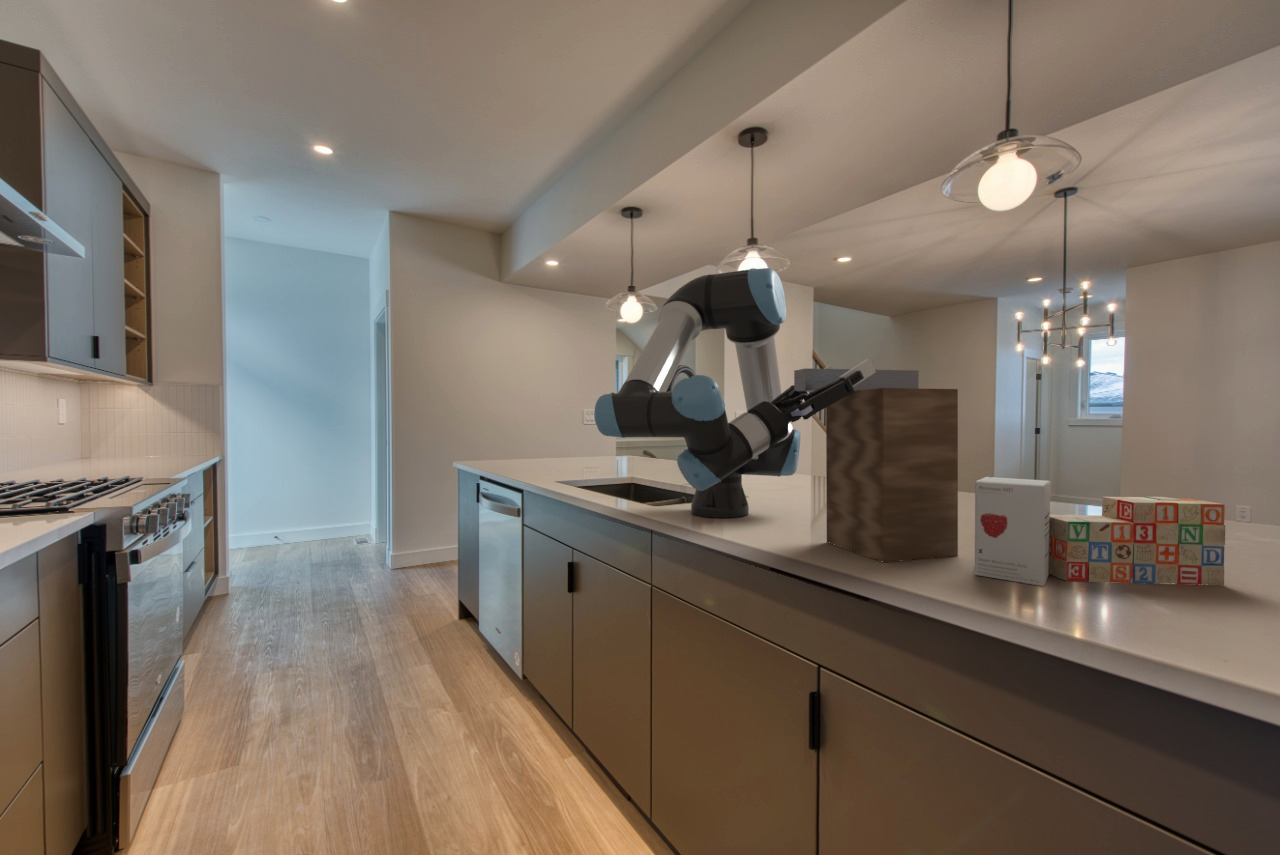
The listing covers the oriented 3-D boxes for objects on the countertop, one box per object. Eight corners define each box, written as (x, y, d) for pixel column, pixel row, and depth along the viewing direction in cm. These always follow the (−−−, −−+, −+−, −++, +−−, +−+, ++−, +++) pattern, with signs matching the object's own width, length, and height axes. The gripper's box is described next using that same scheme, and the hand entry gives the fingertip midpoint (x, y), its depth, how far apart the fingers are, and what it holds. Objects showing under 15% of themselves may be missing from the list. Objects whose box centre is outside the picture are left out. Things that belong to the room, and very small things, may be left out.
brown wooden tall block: (826, 542, 107) (826, 373, 106) (892, 537, 111) (892, 374, 111) (883, 562, 91) (883, 364, 91) (957, 555, 96) (957, 366, 95)
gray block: (794, 391, 100) (794, 370, 100) (903, 392, 106) (903, 372, 106) (805, 390, 96) (805, 368, 96) (918, 391, 102) (918, 370, 102)
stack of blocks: (1066, 582, 80) (1066, 501, 80) (1039, 571, 86) (1039, 495, 86) (1225, 587, 77) (1226, 502, 77) (1186, 574, 83) (1187, 496, 83)
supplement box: (972, 575, 83) (972, 480, 83) (983, 564, 90) (983, 475, 90) (1045, 587, 77) (1045, 484, 77) (1051, 574, 84) (1051, 479, 84)
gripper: (738, 445, 105) (822, 389, 110) (804, 450, 83) (905, 381, 88) (720, 412, 104) (806, 358, 109) (782, 409, 82) (886, 341, 87)
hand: (851, 368), depth 98 cm, fingers open, 10 cm apart
